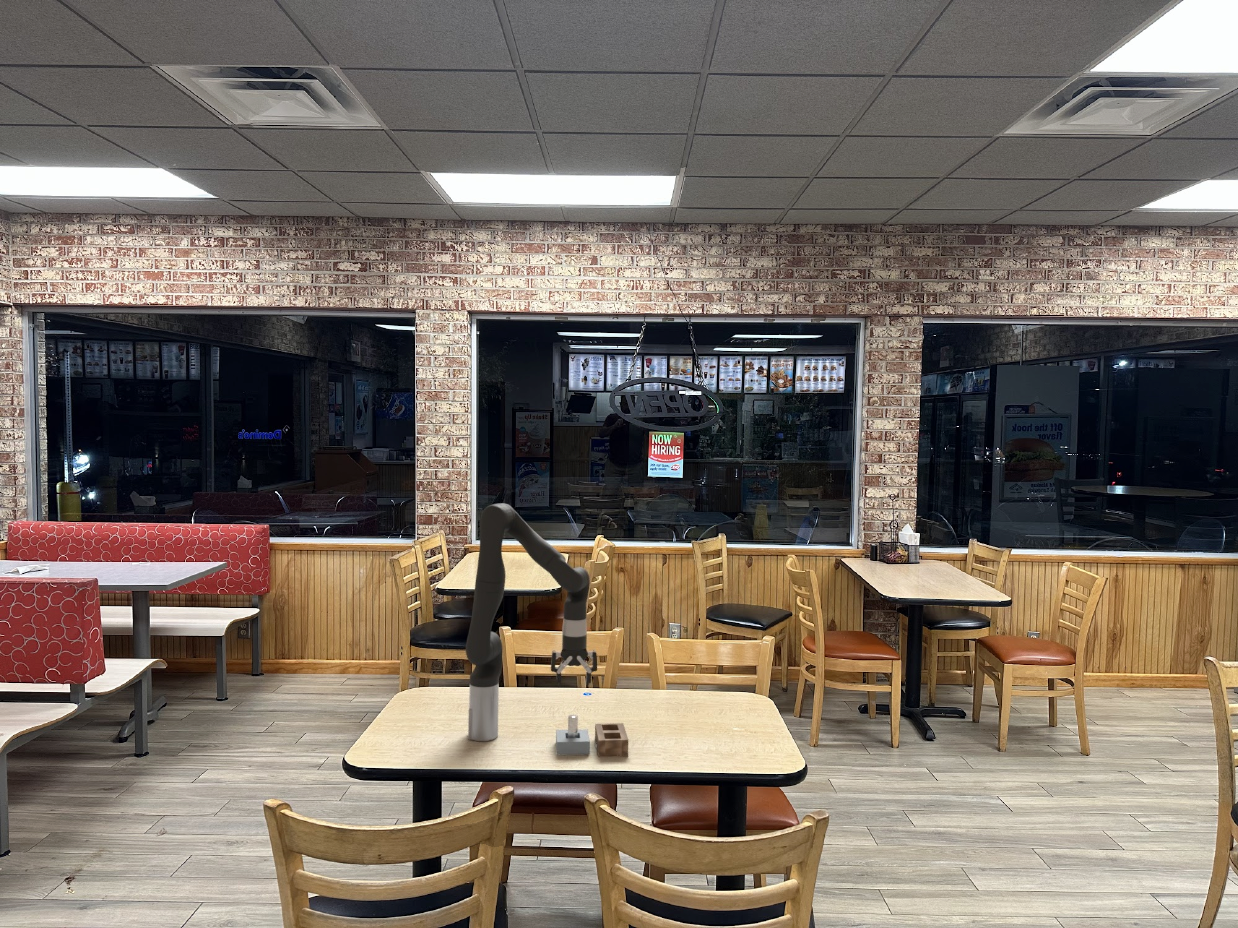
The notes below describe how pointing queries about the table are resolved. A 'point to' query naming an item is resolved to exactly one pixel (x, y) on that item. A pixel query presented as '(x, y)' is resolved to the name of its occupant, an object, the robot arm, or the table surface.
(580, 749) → the socket block
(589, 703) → the table surface
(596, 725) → the walnut rack
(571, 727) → the steel rod
